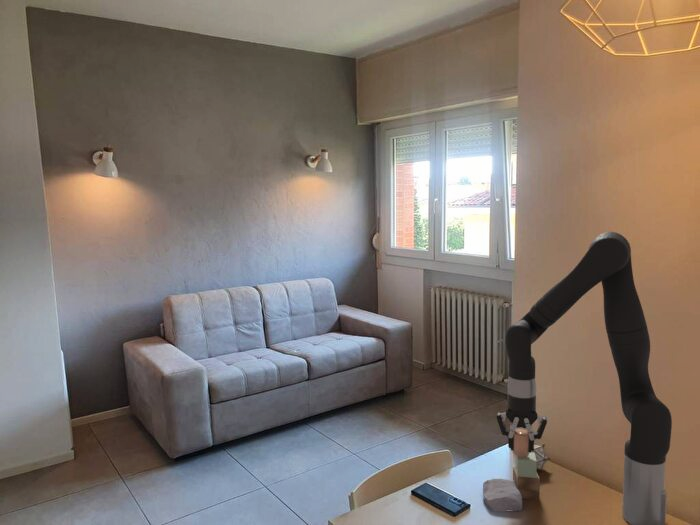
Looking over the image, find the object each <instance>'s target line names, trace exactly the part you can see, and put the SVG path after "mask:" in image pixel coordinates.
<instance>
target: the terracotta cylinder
mask: <svg viewBox="0 0 700 525" xmlns="http://www.w3.org/2000/svg"><path fill="white" fill-rule="evenodd" d="M513 438H514V440H513V451H512V453H513V455H514V456H516V455H517V456H521V457H525V456H528V455H529V434H528V432H527V429H523V428H522V429H521V428H517V429H516V430H515V432H514V435H513Z"/></svg>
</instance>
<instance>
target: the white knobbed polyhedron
mask: <svg viewBox="0 0 700 525" xmlns="http://www.w3.org/2000/svg"><path fill="white" fill-rule="evenodd" d="M545 446H546V444H545V443H544V444H543V445H541V444H540V445H539V444H535V443H534V450H533V451H531V452H533V453H535V457H536V461H537V469H536V470H537V471H540V473H543V470H542V469H544V466H545V465H546V464H547V461H548V460H549V461H550V460H551V458H550V457H548V455H547V451H546V450H545Z"/></svg>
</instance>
